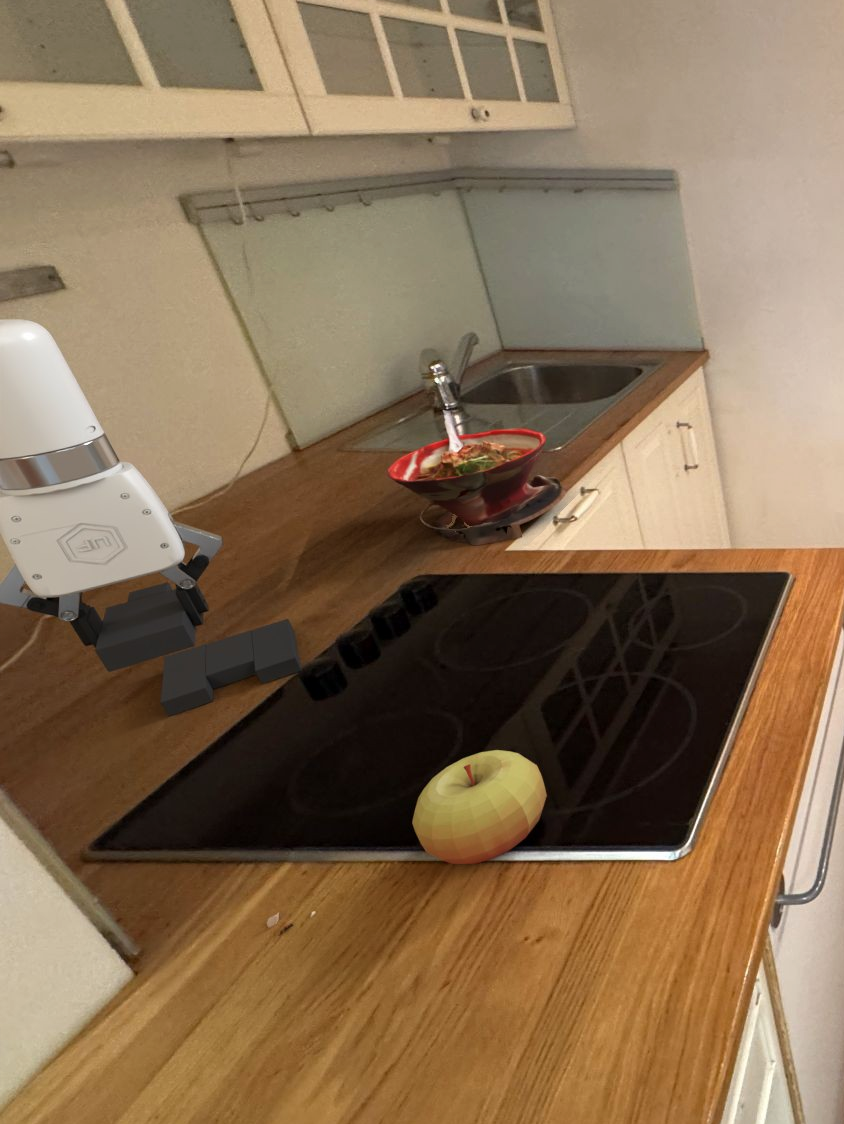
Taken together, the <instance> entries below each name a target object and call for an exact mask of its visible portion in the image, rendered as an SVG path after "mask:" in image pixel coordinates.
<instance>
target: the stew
mask: <svg viewBox="0 0 844 1124" xmlns="http://www.w3.org/2000/svg"><path fill="white" fill-rule="evenodd" d="M442 412H443V418H444V421H443V424H444V428H445V429H446V434H447V436H446V437H445V438H443V439H442V440H438V441H436V442H433V443H430V444H426V445H424V446H423V447H420V448H418V449H416V450H414V451H411V452H409V453H406V454H404V455H403V456H401V457H399V458H397V460H395V461H394V462H393V463H391V465H390V466H389V467H388V469H387V476H388V477H389V478H390V479H391V480H392V481H394V482H395V483H397V484H399V485H401V486H403V487H405V488H406V489H408V490H410V491H411V492H413V493H414V494H416V495H418V496H420V497H422V498H424V499H426V500H428V502H429V504H428V505H427V506H426V507H425V508H424V509H423V510H422V511H421V513H420V515H419V521H420V523H421V524H422V525H423V526H424V527H426V528H429V529H431V530H433V531H437V532H438V533H437V534H439V533H440V534H439V535H441V534H442V535H441V536H442V537H443V536H444V537H443V538H446V539H450V538H452V539H454V540H453V541H455V540H459V541H460V542H459V541H458V542H459V543H469V545H470V546H481V545H487V544H492V543H497V542H503V541H506V540H511V539H519V538H523V533H522V530H521V527H520V525H522V524H524V523H527V522H530V521H531V520H534V519H536V518H537V517H539V516H542V515H543V514H545V513H546V512H548V511H550V510H551V509H553V508H554V507H556V506H557V505H558V504H559V503H560V502H561V501H562V500H563V499H564V498H565V496H566V494H567V493H568V492H567V490H566V489H564V488H563V487H562V485H561V483H560V481H559V480H558V479H557V478H556V476H544V475H539V474H537V475H535V476H534V477H533V478H532V479H529V478H530V475H531V472H532V470H533V468H534V467H535V465H536V463H537V462H538V459H539V458H540V457H541V455H542V451H543V449H544V446H545V444H546V442H547V437H546V435H545V434H544V432H543V433H542V432H541V431H537V430H535V429H530V428H520V427H513V428H501V429H500V428H499V429H498V428H497V429H496V428H495V429H490V430H485V431H482V432H481V431H480V432H476V433H470V434H463V435H459V434H458V431H457V430H456V428H455V427H456V426H455V422H454V419H453V415H452V410H445V409H442ZM432 506H436V507H437V506H439V507H440V508H442V509H444V510H446V511H445V512H444V514H442V515H441V516H440V517H439V518H438V520H433V521H432V523H433V526H432V525H431V524H429V523H427V522H426V521H425V519H424V517H423V514H424V512H426V511H427V510H428V509H430V507H432ZM453 514H455V515H456V516H458V518H460V519H461V520H462V522H463V521H464V522H465V523H466V524H467V525H469V526H472V527H470V528H465V527H464V528H463V527H462V528H458V529H455V528H453V529H449V528H447V526H446V525H449V524H450V523H451V522H452V518H453V517H452V516H454V515H453ZM464 522H463V523H464ZM452 523H453V522H452ZM504 527H507V529H506V530H505V529H504ZM498 529H499V530H498ZM455 531H456V532H455ZM447 537H448V538H447ZM449 537H450V538H449ZM452 539H451V540H452Z"/></svg>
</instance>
